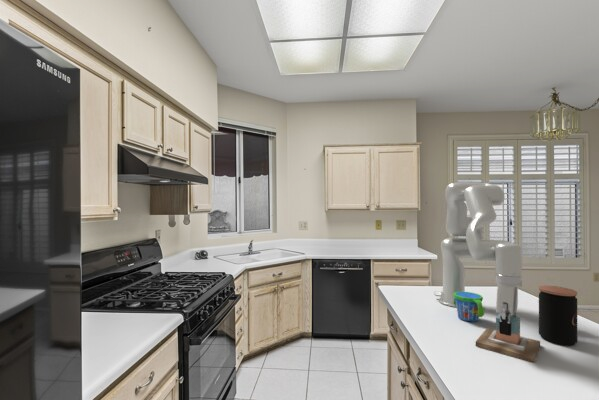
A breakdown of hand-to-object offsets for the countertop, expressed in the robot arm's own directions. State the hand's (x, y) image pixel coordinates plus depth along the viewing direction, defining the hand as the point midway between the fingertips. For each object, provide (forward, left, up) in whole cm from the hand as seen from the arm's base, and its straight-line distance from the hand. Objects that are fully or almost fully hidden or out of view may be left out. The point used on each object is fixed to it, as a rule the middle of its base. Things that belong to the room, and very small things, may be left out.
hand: (508, 330), depth 106 cm
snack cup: (-17, +18, -6) cm, 25 cm away
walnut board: (0, 0, -5) cm, 5 cm away
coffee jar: (+12, +18, -6) cm, 22 cm away
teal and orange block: (0, 0, -4) cm, 4 cm away
